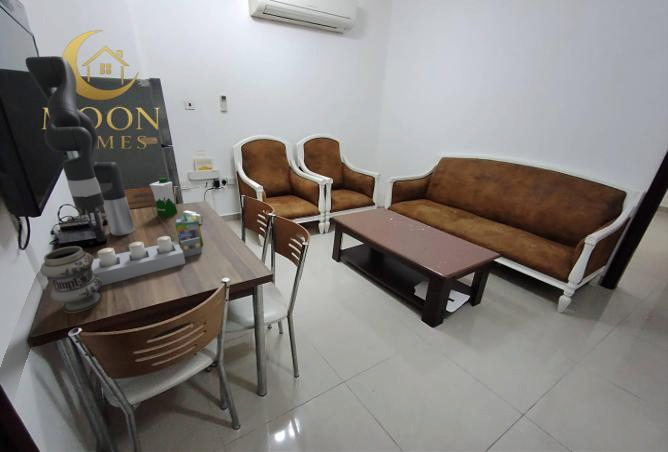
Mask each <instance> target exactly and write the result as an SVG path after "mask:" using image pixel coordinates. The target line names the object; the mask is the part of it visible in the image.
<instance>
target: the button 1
mask: <svg viewBox="0 0 668 452" xmlns="http://www.w3.org/2000/svg"><path fill="white" fill-rule="evenodd" d="M115 252H116V251H115V249H114V247H105V248H101V249H100V250H98V251H97V256H98V258H99V259H100V262H101V265H102V266H104V267H107V266H112V265H114V264H116V263H117V262H118V261H117V258H116V253H115Z"/></svg>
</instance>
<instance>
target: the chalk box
mask: <svg viewBox="0 0 668 452" xmlns="http://www.w3.org/2000/svg"><path fill="white" fill-rule="evenodd" d="M182 215H183V216H179V217H175V224H174V225H175V229H176V233H177V236H178V243H179V245H180V247H181V242H180V241H184V240H189V239H193V238H198V237H199V238H200V244H201V246H203V245H204V242H203V237H202V236H203V235H202V232H201V228H200V225H199V221H198V216H197V215H194V216H186V215H185V213H184V211H182ZM181 249H182V247H181Z"/></svg>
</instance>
